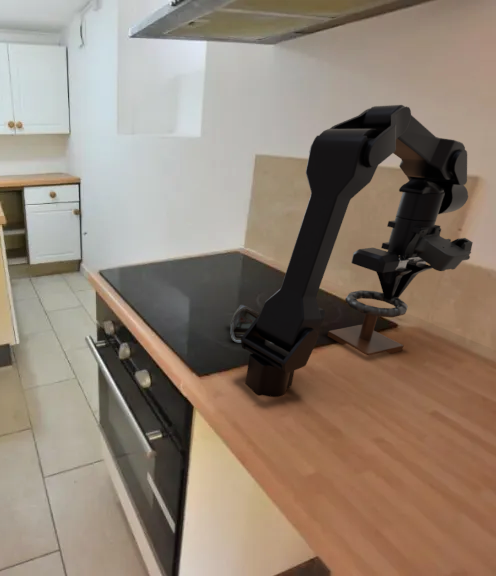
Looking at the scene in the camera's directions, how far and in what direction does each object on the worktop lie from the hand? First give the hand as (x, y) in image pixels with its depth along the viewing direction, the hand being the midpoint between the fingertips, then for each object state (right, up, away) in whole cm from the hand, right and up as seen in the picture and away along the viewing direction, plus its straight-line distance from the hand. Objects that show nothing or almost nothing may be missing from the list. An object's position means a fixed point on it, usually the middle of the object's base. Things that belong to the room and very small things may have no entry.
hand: (391, 298), depth 73 cm
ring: (-4, -1, -1) cm, 4 cm away
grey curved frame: (-24, -8, +6) cm, 26 cm away
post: (-4, -9, +2) cm, 10 cm away
